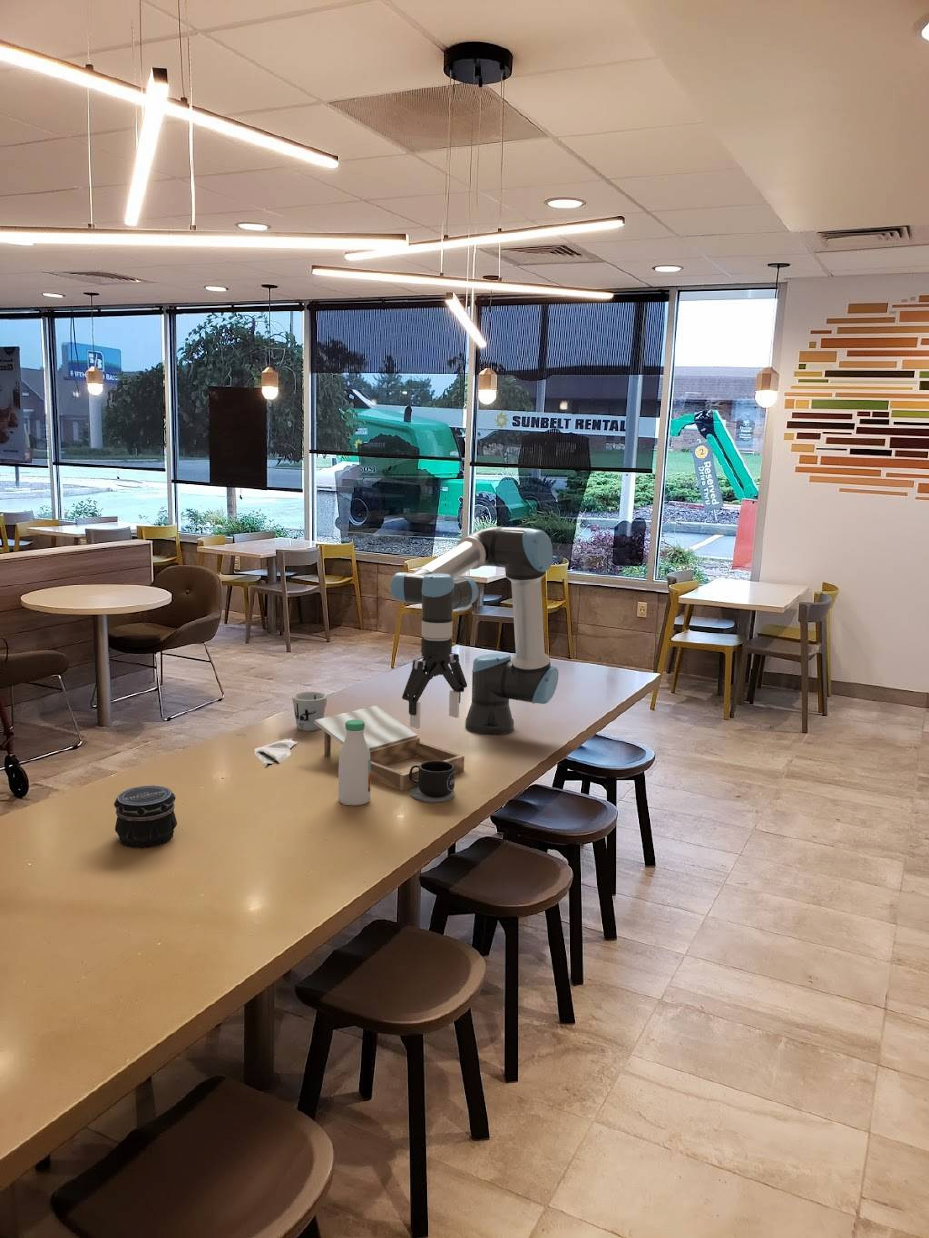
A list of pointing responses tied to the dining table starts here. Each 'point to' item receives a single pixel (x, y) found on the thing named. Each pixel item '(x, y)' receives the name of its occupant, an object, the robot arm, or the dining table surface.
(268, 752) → the cloth
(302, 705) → the mug
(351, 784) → the milk bottle
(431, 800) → the coaster
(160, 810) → the container
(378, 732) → the box
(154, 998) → the dining table surface
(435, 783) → the mug
